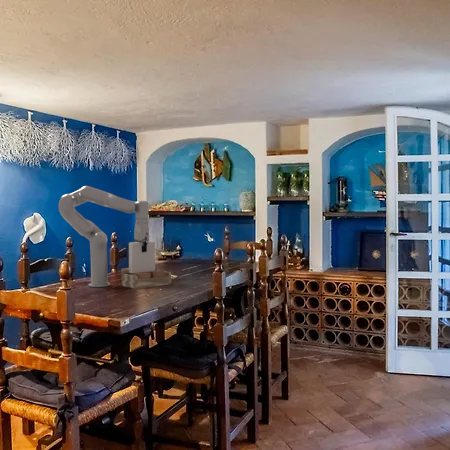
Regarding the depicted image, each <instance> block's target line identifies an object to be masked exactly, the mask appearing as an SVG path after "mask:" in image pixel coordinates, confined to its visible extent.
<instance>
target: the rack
mask: <svg viewBox="0 0 450 450" xmlns="http://www.w3.org/2000/svg"><path fill="white" fill-rule="evenodd" d="M157 267H158V266H157V265H156V264H155V271H160V269H157ZM120 271H121V272H120V275H121V276H120V277H121V279H120V280H121V281H120V282H121V286H122V287H127V288H130V289H135V290H138V289H146V288H153V287H160V286H161V287H162V286H167V285H171V284H172V272H171V271H165V270H163V271H164V272H165V276H163V277H155V278H147V279H139V280H138V277H137V276H135V273H129V268H127V267H126V268H125V267H124V268H121V270H120ZM150 272H153V271H150ZM150 272H148V273H150ZM140 273H144V272H140Z"/></svg>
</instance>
